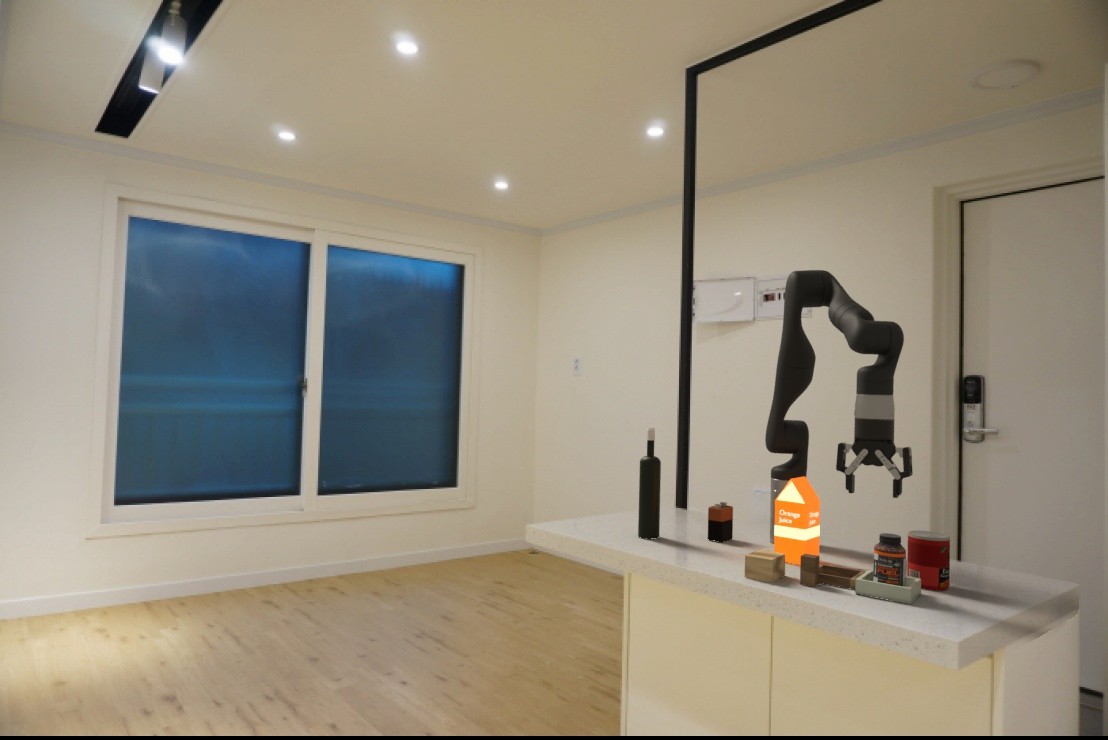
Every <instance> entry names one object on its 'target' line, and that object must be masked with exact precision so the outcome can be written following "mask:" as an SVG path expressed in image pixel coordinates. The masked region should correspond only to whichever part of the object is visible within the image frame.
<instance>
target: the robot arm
mask: <svg viewBox="0 0 1108 740" xmlns="http://www.w3.org/2000/svg"><path fill="white" fill-rule="evenodd" d="M787 276H788V277H787V279H786V283H785V289H784V302H783V303H784V304H783V318H782V319H783V320H782V321H783V322H782V329H781V339H780V345H779V351H778V356H777V363H776V368H775V369H776V372H775V380H774V389H773V396H772V402H771V406H770V411H769V416H768V419H767V420H768V421H767V423H766V424H767V425H766V429H765V439H764V440H765V441H764V442H765V447H766V448H765V449H767V451H768V452H769V453H771V454H780V455H781V454H782V455H784V454H785V455H792V456H791V458H790V459H789V460H787V461H786V462H784V463H781V464H778V465H775V466H773V467H772V468H771V469H770V500H769V501H770V504H769V505H770V506H769V507H770V508H769V510H770V511H769V512H770V513H769V541H770V542H771V543H773V544H774V525H775V500H776V499H777V497H778V496H779V495H780V493H781V492H782V491H783V489H784V488H785V487H786V485H787V484H788V482H789V481H790V480H791V479H793V478H799V477H806V478H807V474H808V460H809V459H808V458H809V445H810V442H809V441H810V433H809V427H808V426H809V425H808V424H807V422H806V421H804V420H800V419H799V420H797V419H785V418H786V416H787V413H788V412H789V410H790V408H791V406H792V405H793V404H794V403H795V401H796V400H797V399H799V398H800V396H801V395H803V394H804V393H805V391H806V390H807V389H808V388H809V386H810V385H811V384H812V381H813V378H814V371H815V366H816V353H815V350H814V347H813V345H812V343H811V342H810V340H809V338H808V336H807V335H806V332H805V330H804V328H803V324H802V321H803V320H802V312H803V309H804V308H805V309H806V308H822V307H827V308H828V311H827V314H828V319H829V321H830V322H831V324H832V326H834V328H836V329H837V330H838V331H839V332H841V334H843V335H844V339H845V340H846V342H847V345H848V347H849V349H850V350H852V352H854V353H858V354H861V355H877V358H876V360H875V361H874V363H873V364H871V365H866V366H862V367H859V368H858V369H857V373H856V391H855V392H856V396H855V401H854V402H855V403H854V411H853V413H854V414H853V416H854V429H853V431H854V435H853V436H854V439H853V443H846V442H840V443H838V444H837V452H836V454H837V455H836V463H835V464H836V465H835V470H836V471H837V472H841V473H843V474H844V475H845V490H846V491H848V492H847V493H848V494H855V484H856V483H855V482H856V481H855V480H856V475H855V474H854V473H855V472H856V471H857V470H858V468H859V467H860V466H861V465H864V466H875V467H878V468H879V467H883V466H884V467H885V469H886V470H887V471H888V472H889V473H890V474H891V476H892V477H893V479H892V498H894V499H898V498H899V496H901V495H902V494H903V479H905V478H910V477H911V476H913V457H912V455H913V454H912V451H913V450H912V447H910V446H906V447H896V444H895V411H896V410H895V409H896V408H895V401H894V400H895V399H894V381H895V379H894V378H895V373H896V370H897V366H898V362H899V360H900V357H901V353H902V349H903V347H904V342H905V335H904V331H903V328H902V327H901V325H899V323H897V322H895V321H889V320H875V317H874V316H873V314H872V313H871V312H870V311H869V310H868V309H866V307H864V306H862V305H861V304H860V303H858V302H857V301H855V300H854V299H853V298H852V297H851V296H850V294H849V293H848V292H847V291H846V289H845V288H844V287H843V285H842V284H841V283H840V282H839V281H838V279H837V278H836V277H835V276H834V275H833V274H832V273H831V272H830V271H828V270H824V269H823V270H822V269H812V270H811V269H810V270H809V269H808V270H794V271H791V272H790V273H789V274H788V275H787ZM850 451H852V452H853V454H854V455H855V456H856V457H855V458H854V459H853V460H852V461H851V463H850V464H849V466H847V465H846V461H847V460H846V459H847V454H848V453H850ZM896 454H898V456H899V458H900V459H902V467H903V471H901V470H900V469H899V468H898V466H897V464H896V463H895V461H893V459H892V458H893V457H894V456H895V455H896Z"/></svg>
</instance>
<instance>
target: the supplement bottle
mask: <svg viewBox="0 0 1108 740" xmlns="http://www.w3.org/2000/svg"><path fill="white" fill-rule="evenodd" d="M878 540H879V542H878V543H876V544H875V545H874V547H873V570H872V571H873V581H874V582H880V583H885V584H891V585H897V586H902V587H905V576H906V570H907V569H906V568H907V566H906V564H907V563H906V562H907V551H906V548H905V547H904V546H903V545H902V544H901V543H902V536H901V535H899V534H895V533H885V532H883V533H879V539H878Z"/></svg>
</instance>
